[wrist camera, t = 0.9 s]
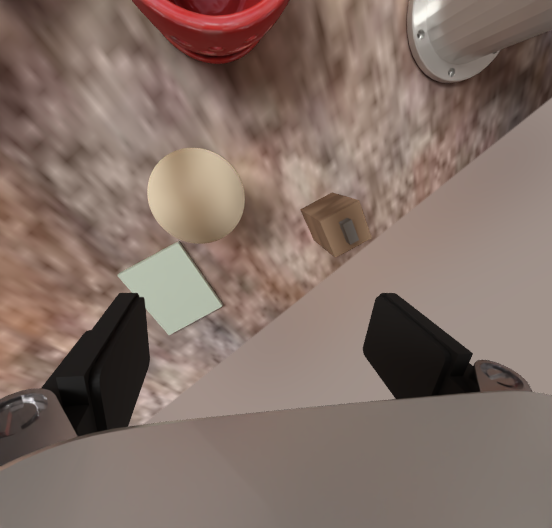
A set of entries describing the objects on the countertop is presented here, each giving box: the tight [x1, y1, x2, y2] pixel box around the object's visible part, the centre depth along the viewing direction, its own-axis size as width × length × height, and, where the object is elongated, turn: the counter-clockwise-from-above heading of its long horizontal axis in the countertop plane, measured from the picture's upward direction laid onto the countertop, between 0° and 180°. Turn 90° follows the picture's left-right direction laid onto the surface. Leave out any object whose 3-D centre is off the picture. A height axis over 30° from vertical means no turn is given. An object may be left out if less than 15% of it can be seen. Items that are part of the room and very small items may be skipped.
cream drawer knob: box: [147, 148, 245, 244], centre depth 25 cm, size 7×7×11 cm
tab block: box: [301, 193, 372, 258], centre depth 30 cm, size 4×4×8 cm
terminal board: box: [117, 241, 222, 335], centre depth 33 cm, size 8×10×1 cm
